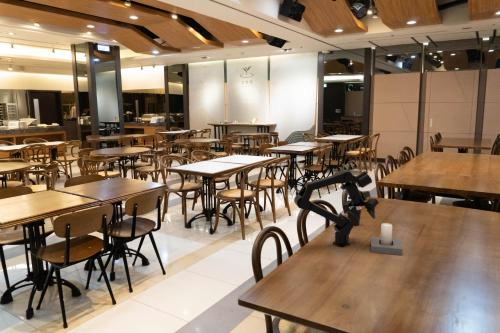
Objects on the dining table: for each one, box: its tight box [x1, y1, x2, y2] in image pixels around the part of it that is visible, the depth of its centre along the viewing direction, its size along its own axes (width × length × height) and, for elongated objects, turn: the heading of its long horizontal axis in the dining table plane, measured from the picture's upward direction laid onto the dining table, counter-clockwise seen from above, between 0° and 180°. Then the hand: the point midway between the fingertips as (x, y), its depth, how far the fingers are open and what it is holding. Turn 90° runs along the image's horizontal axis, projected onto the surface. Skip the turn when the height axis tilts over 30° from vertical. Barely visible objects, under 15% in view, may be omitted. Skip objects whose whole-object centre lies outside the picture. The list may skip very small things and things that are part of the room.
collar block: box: [370, 236, 403, 256], centre depth 184 cm, size 14×14×3 cm
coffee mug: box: [346, 206, 362, 227], centre depth 222 cm, size 12×9×10 cm
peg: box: [380, 222, 393, 245], centre depth 183 cm, size 5×5×12 cm
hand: (366, 218), depth 190 cm, fingers open, 9 cm apart
